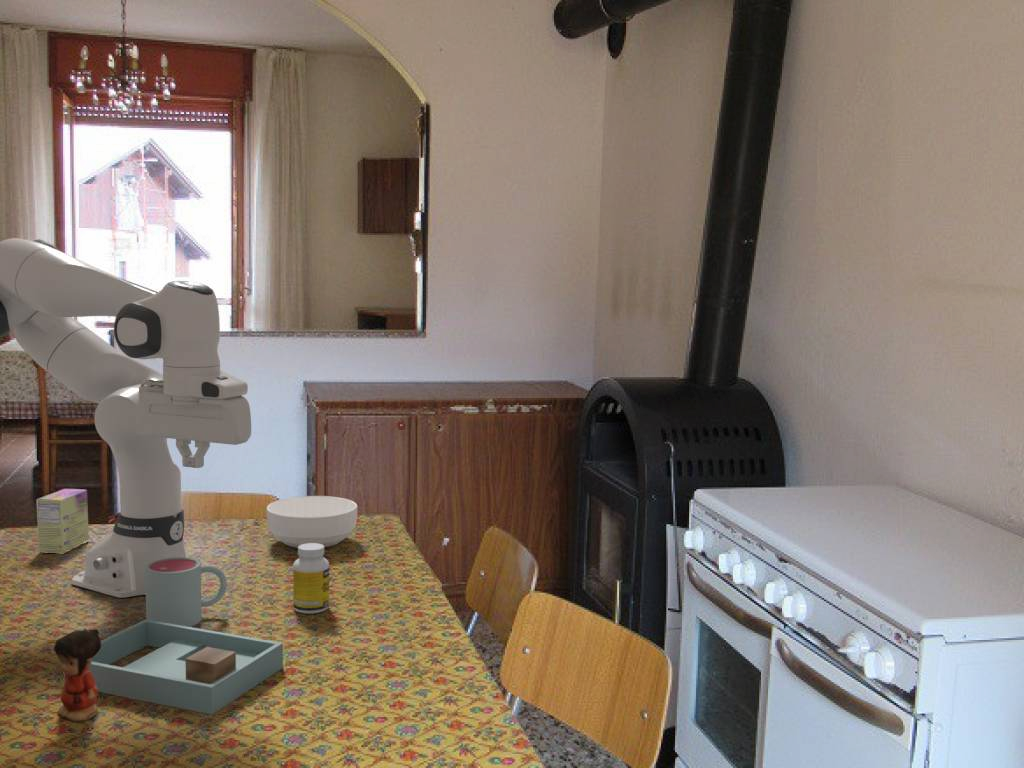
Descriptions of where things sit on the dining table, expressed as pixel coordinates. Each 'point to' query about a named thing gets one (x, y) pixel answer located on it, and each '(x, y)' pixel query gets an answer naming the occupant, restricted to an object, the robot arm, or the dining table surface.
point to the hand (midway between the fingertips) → (193, 466)
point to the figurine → (78, 674)
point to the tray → (181, 665)
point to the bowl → (311, 520)
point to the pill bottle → (311, 579)
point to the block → (209, 665)
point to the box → (62, 520)
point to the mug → (178, 590)
